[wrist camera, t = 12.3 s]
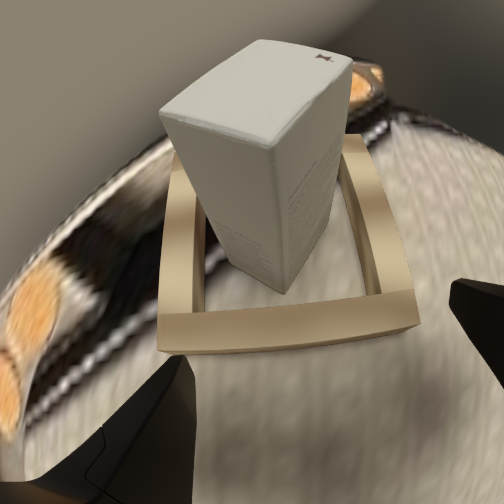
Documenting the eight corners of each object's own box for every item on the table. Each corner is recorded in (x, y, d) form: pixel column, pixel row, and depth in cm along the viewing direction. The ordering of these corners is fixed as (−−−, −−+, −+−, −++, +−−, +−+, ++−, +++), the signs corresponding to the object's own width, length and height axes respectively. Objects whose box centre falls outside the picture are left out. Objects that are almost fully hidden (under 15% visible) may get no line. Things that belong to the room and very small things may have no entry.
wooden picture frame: (402, 331, 15) (420, 323, 12) (173, 354, 16) (156, 350, 13) (355, 156, 21) (360, 134, 18) (184, 173, 22) (174, 152, 20)
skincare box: (275, 197, 20) (259, 36, 9) (328, 223, 18) (359, 57, 8) (225, 265, 18) (151, 109, 7) (283, 298, 17) (277, 146, 6)
